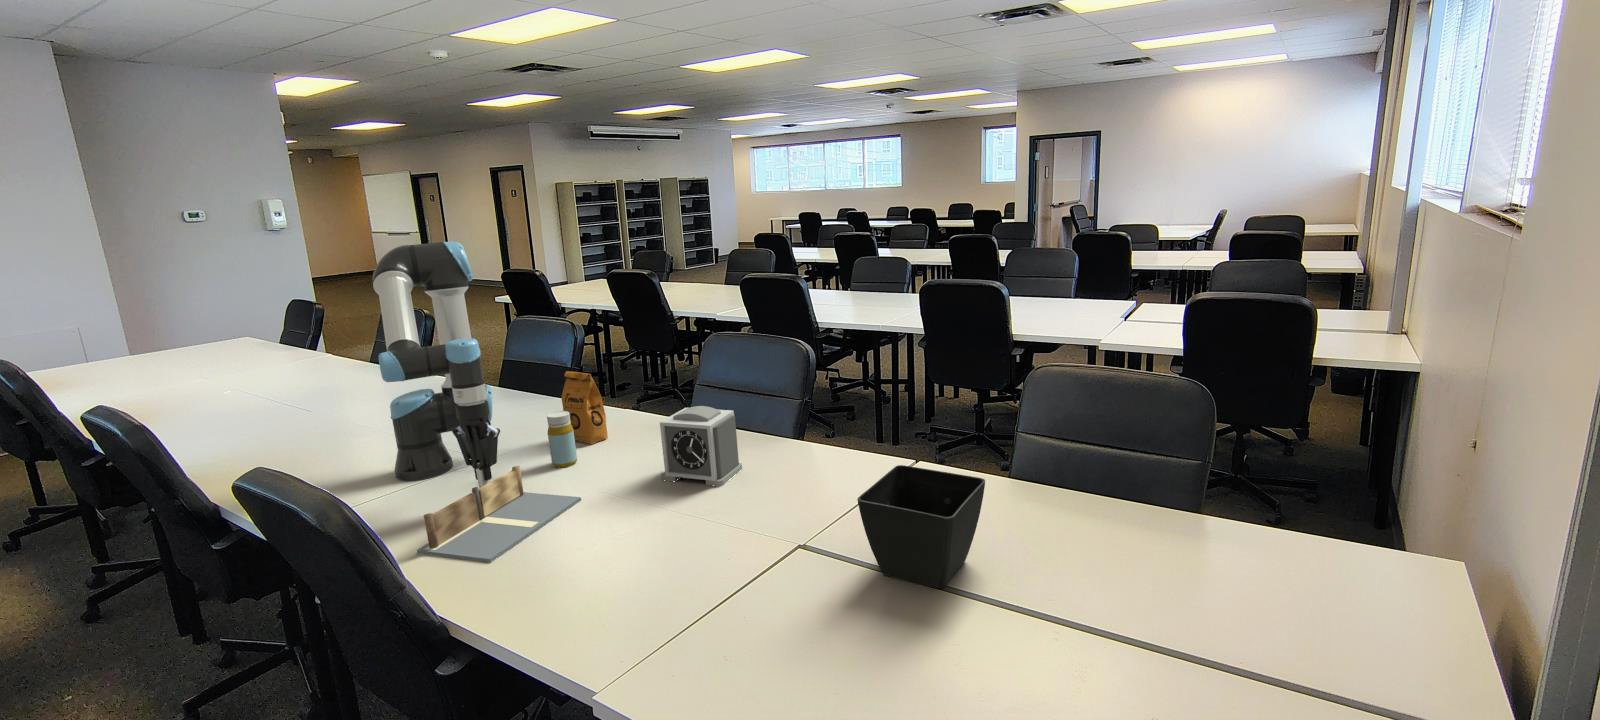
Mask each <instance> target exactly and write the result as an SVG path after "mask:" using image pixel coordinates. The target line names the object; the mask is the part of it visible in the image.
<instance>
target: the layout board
mask: <svg viewBox="0 0 1600 720" xmlns="http://www.w3.org/2000/svg"><path fill="white" fill-rule="evenodd" d="M523 493H524V494H523V495H520V496H518V497H517V498H515V499H513V500H512V501H510V502H508V503H507V504H505V505H504V506H502V507H500V508H499V509H497V510H495V511H494V512H492V513H490V514H489V515H487V516H485V517H483V519H482V520H480V521H478V522H477V523H475V524H473V525H472V526H470V527H468V528H467V529H465V530H463V531H462V532H460V533H459V534H457V535H455V536H454V537H452V538H450V539H449V540H447V541H445V542H444V543H442V544H440V545H439V546H438V547H437V548H433V549H430V547H429V542H428V543H426V544H424V545H422V546H421V547H418V548H417V549H416V554H418V555H419V554H420V555H421V554H422V555H426V556H427V555H428V556H436V557H444V558H451V559H457V560H458V559H460V560H467V561H475V562H482V563H483V562H484V563H490V564H491V563H492V562H494V561H495V560H497V559H498V558H499V556H500V557H502V556H503V555H504V554H505V553H507V552H508V551H510V550H511V549H512V548H514V547H516V546H517V545H518V544H520V543H521V542H522V541H525V540H526V539H527V538H528V537H530V536H531V535H533V534H534V533H536V532H537V531H538V530H540V529H542V528H543V527H545V526H546V525H547V524H549V523H550V522H552V521H554V520H555V519H556V518H558V517H559V516H560V515H562V514H563V513H565V512H566V511H568V510H569V509H571V508H572V507H574V506H575V505H576V504H578V503H580V502H581V501H582V497H580V496H571V495H559V494H550V493H536V492H524V491H523ZM567 509H568V510H567ZM496 558H497V559H496Z"/></svg>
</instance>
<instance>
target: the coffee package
mask: <svg viewBox="0 0 1600 720" xmlns="http://www.w3.org/2000/svg"><path fill="white" fill-rule="evenodd" d="M564 377H565V378H566V379H565V382H564V386H563V389H562V393H561V397H560V398H561V403H562V411H568V412H569V413H570V422H571V425H572V427H573V431H574V439H575V441H578V442H580V443H584V444H590V445H594V444H596V442H597V443H599V442H598V441H600V442H602V441H605V440H607V439H608V438H609V437H608V436H609V435H608V429H607V416H606V412H605V407H604V404H603V399H602V395H601V393H600V391H599V388H598V387H597V385H596V382H595V380H594V379H593V377H592V374H591V373H586V372H585V373H584V372H578V371H567V370H566V371H565V373H564ZM607 437H608V438H607ZM606 438H607V439H606ZM604 439H605V440H604ZM601 440H602V441H601Z"/></svg>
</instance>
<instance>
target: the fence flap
mask: <svg viewBox="0 0 1600 720" xmlns="http://www.w3.org/2000/svg"><path fill="white" fill-rule="evenodd" d="M511 468H512V469H511V470H510V471H508V472H507V473H505V474H503V475H501V476H499V477H497V478H496V479H493V480H491V482H490V483H488V484H486V485H485V486H483V487H481V488H479V487H478V489H479V495H480V501H481V507H482V513H483V517H485V516H487V515H489V514H490V513H492V512H494V511H495V510H497V509H499V508H500V507H502V506H504V505H505V504H507V503H508V502H510V501H512V500H513V499H515V498H517V497H518V496H520V495H523V494H524V493H523V492H524V487H523V479H522V473H521V468H520V465H515V466H512V467H511Z"/></svg>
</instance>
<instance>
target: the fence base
mask: <svg viewBox="0 0 1600 720" xmlns="http://www.w3.org/2000/svg"><path fill="white" fill-rule="evenodd" d="M482 519H483V513H482V507H481V501H480V495H479V486H474V487H472V488H471V492H470V493H468V494H467V495H465V496H463V497H461V498H459V499H457V500H456V501H454V502H452V503H450V504H448V505H447V506H444V507H443V508H441V509H439V510H438V511H435V512H434V513H431V512H430V513H429V512H428V513H426V514H424V515H423V520H424V525H425V530H426V535H427V541H428V543H429V547H430V549H433V548H437V547H438V546H439V545H440V544H442V543H444V542H445V541H447V540H449V539H450V538H452V537H454V536H455V535H457V534H459V533H460V532H462V531H463V530H465V529H467V528H468V527H470V526H472V525H473V524H475V523H477V522H478V521H480V520H482Z"/></svg>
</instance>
